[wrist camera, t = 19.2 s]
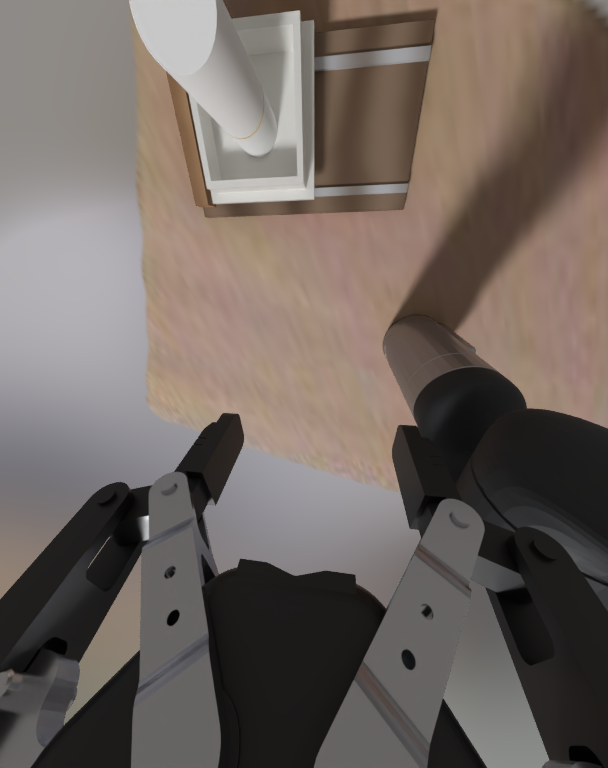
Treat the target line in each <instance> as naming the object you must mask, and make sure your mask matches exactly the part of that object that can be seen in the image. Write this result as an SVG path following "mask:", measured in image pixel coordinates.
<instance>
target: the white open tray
mask: <svg viewBox="0 0 608 768" xmlns="http://www.w3.org/2000/svg"><path fill="white" fill-rule="evenodd" d="M232 22H233V24H234V26H235V28H236V30H237V33H238V35H239V37H240V39H241V41H242V44H243V46H244V48H245V50H246V53H247V55H248V57H249V59H250V61H251V64H252V66H253V68H254V70H255V73H256V75H257V77H258V79H259V81H260V84H261V86H262V88H263V90H264V92H265V95H266V97H267V99H268V101H269V104H270V106H271V108H272V110H273V112H274V115H275V118H276V122H277V138H276V142H275V145H274V147H273V149H272V150H271V151H270V153H268V154H267V155H266V156H264V157H260V158H256V157H253V156H251V155H249V154H248V153H247V152H246V151H245V150H244V149H243V148H242V147H241V146H240V145H239V144H238V143H237V142H236V141H235V140H234V139H233V138H232V137H231V136H230V135H229V134H228V133H227V132H226V131H225V130H224V129H223V128H222V127H221V126H220V125H219V124H218V123H217V122H216V121H215V120H214V119H213V118H212V117H211V116H210V115H209V114H208V113H207V112H206V111H205V110H204V109H203V108H202V107H201V106H200V105H199V104H198V103H197V102H196V101H195V99H194V98H193V97H192V96H191V95H190V94H189V93H188V94H189V99H190V104H191V109H192V115H193V120H194V125H195V130H196V135H197V140H198V145H199V151H200V156H201V161H202V166H203V171H204V176H205V181H206V187H207V189H209V190H210V191H211V196H212V201H213V204H233V203H255V202H276V201H298V200H315V180H314V20H309V21H301V15H300V10H298V11H290V12H282V13H274V14H266V15H258V16H250V17H242V18H234V19H232Z"/></svg>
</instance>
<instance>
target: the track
mask: <svg viewBox="0 0 608 768" xmlns="http://www.w3.org/2000/svg"><path fill="white" fill-rule="evenodd" d="M434 24H435V19H433V20H424V21H415V22H406V23H397V24H389V25H380V26H371V27H362V28H354V29H345V30H336V31H327V32H318V33H314V180H315V200H298V201H276V202H255V203H233V204H213V201H212V196H211V191H210V190H209V189H207V187H206V181H205V176H204V171H203V166H202V161H201V156H200V151H199V145H198V140H197V135H196V130H195V125H194V120H193V115H192V109H191V104H190V99H189V94H188V92H187V91H186V90H185V89H184V88H183V87H182V86H181V85H180V84H179V83H178V82H177V81H176V80H175V79H174V78H173V77H172V76H171V75H170V74H169V73H168V72H167V71H166V73H167V77H168V82H169V86H170V91H171V95H172V100H173V104H174V109H175V113H176V118H177V122H178V127H179V131H180V136H181V141H182V145H183V150H184V154H185V159H186V163H187V168H188V172H189V177H190V181H191V186H192V190H193V195H194V199H195V204H196V206H199V207H203V209H204V214H205V217H207V218H213V217H237V216H262V215H287V214H311V213H336V212H361V211H386V210H403V209H404V205H405V199H406V193H407V191H408V185H409V183H408V181H409V175H410V169H411V163H412V157H413V151H414V145H415V139H416V133H417V127H418V121H419V115H420V108H421V102H422V96H423V90H424V84H425V78H426V72H427V66H428V61H429V59H430V53H431V47H432V45H431V42H432V36H433V30H434Z"/></svg>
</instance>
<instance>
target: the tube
mask: <svg viewBox="0 0 608 768" xmlns="http://www.w3.org/2000/svg"><path fill="white" fill-rule="evenodd" d="M129 3H130V7H131V12H132V15H133V19H134V22H135V25H136V27H137V30H138V32H139V34H140V37H141V39H142V41H143V42H144V44H145V46H146V48H147V49H148V51H149V52H150V53H151V55H152V56H153V57H154V59H155V60H156V61H157V62H158V63H159V64H160V65H161V66H162V67H163V68H164V69H165V70H166V71H167V72H168V73H169V74H170V75H171V76H172V77H173V78H174V79H175V80H176V81H177V82H178V83H179V84H180V85H181V86H182V87H183V88H184V89H185V90H186V91H187V92H188V93H189V94H190V95H191V96H192V97H193V98H194V99H195V101H196V102H197V103H198V104H199V105H200V106H201V107H202V108H203V109H204V110H205V111H206V112H207V113H208V114H209V115H210V116H211V117H212V118H213V119H214V120H215V121H216V122H217V123H218V124H219V125H220V126H221V127H222V128H223V129H224V130H225V131H226V132H227V133H228V134H229V135H230V136H231V137H232V138H233V139H234V140H235V141H236V142H237V143H238V144H239V145H240V146H241V147H242V148H243V149H244V150H245V151H246V152H247V153H248V154H249V155H251V156H253V157H256V158H260V157H264V156H266V155H267V154H268V153H270V151H271V150H272V149H273V147H274V145H275V142H276V138H277V122H276V118H275V115H274V112H273V110H272V108H271V106H270V104H269V101H268V99H267V97H266V95H265V92H264V90H263V88H262V86H261V84H260V81H259V79H258V77H257V75H256V73H255V70H254V68H253V66H252V64H251V61H250V59H249V57H248V55H247V53H246V50H245V48H244V46H243V44H242V41H241V39H240V37H239V35H238V33H237V30H236V28H235V26H234V24H233V22H232V19H231V17H230V15H229V13H228V11H227V8H226V6H225V4H224V2H223V0H129Z"/></svg>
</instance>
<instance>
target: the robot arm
mask: <svg viewBox="0 0 608 768" xmlns="http://www.w3.org/2000/svg"><path fill="white" fill-rule="evenodd" d="M383 351H384V354H385V357H386V359H387V361H388V363H389V365H390V368H391V370H392V372H393V374H394V376H395V378H396V380H397V383H398V385H399V387H400V389H401V391H402V393H403V395H404V398H405V400H406V402H407V404H408V406H409V408H410V410H411V412H412V415H413V417H414V419H415V421H416V423H417V426H418V428H417V427H416V426H409V425H399V426H398V428H397V432H396V436H395V440H394V443H393V448H392V458H393V463H394V467H395V471H396V475H397V479H398V483H399V487H400V491H401V495H402V499H403V503H404V506H405V511H406V515H407V519H408V523H409V527H410V529H417V530H419V532H420V535H421V540H420V542H419V544H418V546H417V548H416V550H415V552H414V554H413V556H412V558H411V560H410V562H409V564H408V566H407V568H406V570H405V572H404V574H403V576H402V578H401V580H400V582H399V585H398V586H397V588H396V590H395V592H394V594H393V596H392V598H391V600H390V603H389V604H388V607H387V608H385V607H384V606H383V605H382V604H381V602H379V600H378V599H377V598H376V597H375V596H374V595H372V594H371V593H370V592H369V591H367V590H366V589H364V588H363V587H361V586H359V585H357V584H356V578H355V575H353V574H346V573H339V572H331V571H322V572H316V573H310V574H305V575H299V576H293V575H291V574H289V573H287V572H285V571H283V570H281V569H279V568H277V567H275V566H273V565H271V564H269V563H267V562H260V561H253V560H246V559H240V561H239V564H238V567H237V568H234V569H230V570H227V571H225V572H223V573H221V574H219V573H218V570H217V566H216V563H215V560H214V558H213V554H212V549H211V545H210V540H209V535H208V530H207V526H206V521H205V516H204V513H203V512H204V510H205V508H206V506H207V505H216V504H217V502H218V499H219V497H220V495H221V493H222V491H223V488H224V486H225V484H226V482H227V480H228V477H229V475H230V473H231V471H232V468H233V466H234V464H235V462H236V460H237V458H238V455H239V453H240V451H241V449H242V446H243V443H244V434H243V429H242V425H241V420H240V416H239V414H231V413H223V414H222V415H221V416H220V418H219V420H218V421H217V423H216V422H212V423H211V424H210V425H208V426H207V427H206V428H205V429H204V430H203V431H202V432H201V434H200V436H199V437H198V439H197V440H196V441H195V443H194V445H193V446H192V447H191V448H190V450H189V451H188V453H187V454H186V456H185V457H184V459H183V460H182V461H181V463H180V464H179V466H178V467H177V469H176V470H175V471H174V472H172V473H169V474H166V475H164V476H162V477H161V478H159V479H158V480H157V481H156V482H155V483H154V484H153V485H151V486H146V487H141V488H136V489H131V490H130V488H129V487H128V485H127V484H125V483H122V482H116V483H113V484H109V485H107V486H105V487H103V488H101V489H100V490H99V491H97V492H96V493H95V494H93V495H92V497H91V498H90V499H89V500H88V501H87V502H86V503H85V504H84V505H83V507H82V508H81V509H80V510H79V511H78V512H77V513H76V514H75V516H74V517H73V518H72V519H71V520H70V521H69V522H68V524H67V525H66V526H65V527H64V528H63V529H62V530H61V532H60V533H59V534H58V535H57V536H56V537H55V538H54V539H53V541H52V542H51V543H50V544H49V545H48V546H47V547H46V548H45V550H44V551H43V552H42V553H41V554H40V555H39V556H38V557H37V559H36V560H35V561H34V562H33V563H32V564H31V566H30V567H29V568H28V569H27V570H26V571H25V572H24V573H23V574H22V576H21V577H20V578H19V579H18V580H17V581H16V582H15V584H14V585H13V586H12V587H11V588H10V589H9V590H8V591H7V593H6V594H5V595H4V596H3V597H2V598H1V599H0V768H487V767H486V765H485V764H484V762H483V761H482V759H481V758H480V756H479V754H478V753H477V751H476V749H475V748H474V746H473V745H472V743H471V742H470V740H469V738H468V737H467V735H466V734H465V732H464V730H463V729H462V727H461V726H460V724H459V723H458V721H457V720H456V718H455V716H454V715H453V713H452V711H451V710H450V708H449V707H448V705H447V704H446V702H445V700H444V699H443V695H444V692H445V689H446V685H447V681H448V678H449V674H450V671H451V667H452V664H453V660H454V656H455V653H456V649H457V645H458V642H459V638H460V635H461V631H462V628H463V624H464V621H465V617H466V613H467V610H468V606H469V603H470V598H471V589H470V588H469V583H470V580H472V581H474V582H476V583H478V584H480V585H482V586H484V587H485V588H486V590H487V593H488V595H489V598H490V601H491V604H492V606H493V609H494V612H495V615H496V617H497V620H498V623H499V625H500V628H501V631H502V633H503V636H504V639H505V641H506V644H507V647H508V649H509V652H510V655H511V658H512V660H513V663H514V666H515V668H516V671H517V674H518V676H519V679H520V682H521V684H522V687H523V690H524V693H525V695H526V698H527V700H528V703H529V706H530V709H531V711H532V714H533V717H534V719H535V722H536V724H537V728H538V730H539V732H540V736H541V738H542V741H543V743H544V746H545V749H546V752H547V754H548V757H549V761H548V762H546V763H545V764H544V765H543V766H542V768H608V429H607V428H605V427H602V426H600V425H597V424H594V423H592V422H589V421H586V420H583V419H581V418H578V417H574V416H570V415H567V414H563V413H559V412H555V411H550V410H543V409H527V406H526V402H525V399H524V397H523V395H522V393H521V392H520V390H519V389H518V388H517V387H516V386H515V385H514V384H513V383H512V382H510V381H509V380H508V379H507V378H505V377H504V376H503V375H502V374H500V373H499V372H498V371H497V370H495V369H494V368H493V367H492V366H490V365H489V364H488V363H487V362H485V361H484V360H483V359H481V358H480V357H479V356H478V355H476V354H475V352H476V349H475V348H474V347H473V346H472V345H470V344H469V343H468V342H467V341H465V340H464V339H463V338H461V337H460V336H459V335H457V334H456V333H455V332H453V331H452V330H451V329H450V328H448V327H447V326H446V325H444V324H438V323H437V322H435V321H434V320H433V319H431V318H429V317H427V316H423V315H413V316H408V317H405V318H403V319H401V320H399V321H397V322H396V323H395V324H394V325H392V326H391V328H390V329H389V330H388V331H387V333H386V335H385V337H384V341H383ZM108 537H110V538H109V540H108V541H107V542H106V544H105V545H104V543H105V541H106V540H107V539H108ZM103 545H104V547H103V548H102V550H101V551H100V552H99V550H100V549H101V547H102V546H103ZM98 552H99V554H98V555H97V557H96V558H95V559H94V557H95V556H96V554H97V553H98ZM141 553H142V560H141V561H142V562H141V621H140V650H139V651H138V652H137V653H136V654H135V655H134V656H133V657H132V658H131V659H130V660H129V661H128V662H127V663H126V664H125V665H124V666H123V667H122V668H121V669H120V670H119V671H118V672H117V673H116V674H115V675H114V676H113V677H112V678H111V679H110V680H109V681H108V682H107V683H106V684H105V685H104V686H103V687H102V688H101V689H100V690H99V691H98V692H97V693H96V694H95V695H94V696H93V697H92V698H91V699H90V700H89V701H88V702H87V703H86V704H85V705H84V706H83V707H82V708H81V709H80V710H79V711H78V712H77V713H76V714H75V715H74V716H73V717H72V718H71V719H70V720H69V721H68V722H67V723H66V724H65V725H64V719H65V715H66V711H67V710H68V709H69V708H70V707H71V705H72V704H73V702H74V700H75V697H76V695H77V684H78V680H79V675H80V668H79V662H80V660H81V659H82V657H83V655H84V653H85V651H86V650H87V648H88V646H89V644H90V643H91V641H92V639H93V637H94V636H95V634H96V632H97V630H98V629H99V627H100V625H101V623H102V621H103V620H104V618H105V616H106V615H107V612H108V611H109V609H110V607H111V605H112V604H113V602H114V600H115V599H116V597H117V595H118V593H119V592H120V590H121V588H122V586H123V584H124V583H125V581H126V579H127V578H128V576H129V574H130V572H131V570H132V569H133V567H134V565H135V563H136V562H137V560H138V558H139V556H140V555H141ZM93 559H94V561H93V562H92V564H91V565H90V563H91V561H92V560H93ZM89 565H90V567H89ZM88 567H89V568H88Z"/></svg>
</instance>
